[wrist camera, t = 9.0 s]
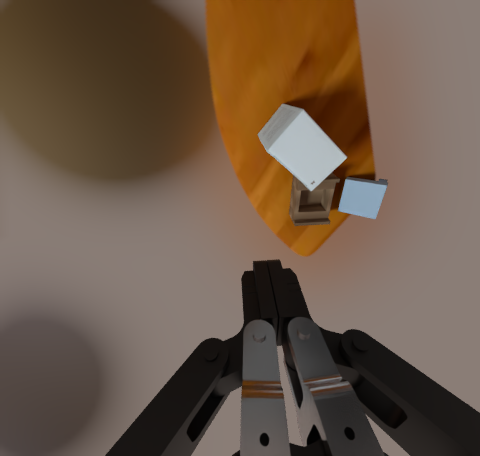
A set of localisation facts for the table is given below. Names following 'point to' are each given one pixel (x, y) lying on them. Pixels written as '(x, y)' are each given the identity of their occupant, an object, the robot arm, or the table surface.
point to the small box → (301, 145)
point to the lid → (362, 196)
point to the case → (312, 201)
